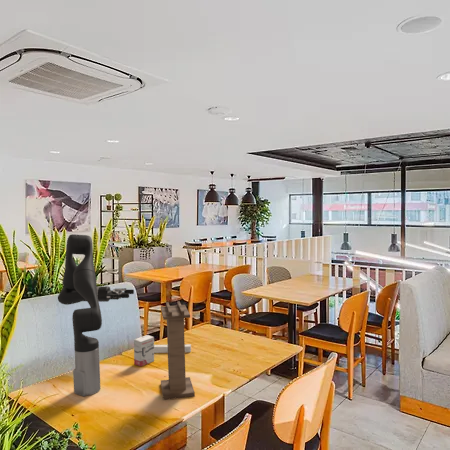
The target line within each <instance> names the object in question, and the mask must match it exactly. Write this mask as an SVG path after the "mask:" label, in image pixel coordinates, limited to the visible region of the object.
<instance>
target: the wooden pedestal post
mask: <svg viewBox="0 0 450 450" xmlns="http://www.w3.org/2000/svg"><path fill="white" fill-rule="evenodd" d="M160 310H161V315H162V316H161V317H162V319H163V321H164V320H165V321H166V334H167V335H166V337H167V338H166V339H167V343H166V345H168V353H167V367H168V368H167V369H168V370H167V371H168V372H167V373H168V379H163V380H162V379H161V380H160V387H161V393H162V401H167V400H176V399H183V398H184V399H185V398H191V397H195V393H196V392H195V390H194V387H193V384H192V380H191V376H188V377H187V376H186V352H185V320H184V319H186V318H188V319H189V318H191V314H190V312H189V310H188V308H187V306H186V304H181V302H180V300H179V301H177V303H176V305H170V303H169V301H168V302H167V301H166V302H165V305H164V306H160Z"/></svg>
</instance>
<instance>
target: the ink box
mask: <svg viewBox="0 0 450 450" xmlns="http://www.w3.org/2000/svg"><path fill="white" fill-rule="evenodd" d="M154 345H155V337H154V336H152V335H149V334H146V335H144V336H140V337H136V338H134V340H133V358H134V359H133V361H134V362H133V364H134V365H135V366H139V367H144V366H145V365H148V364H150V363H153V362H154V361H155V353H154Z"/></svg>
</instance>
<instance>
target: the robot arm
mask: <svg viewBox="0 0 450 450" xmlns="http://www.w3.org/2000/svg"><path fill="white" fill-rule="evenodd" d="M93 249H94V248H93V238H92V237H91V236H90V235H88V234H87V235H86V234H75V233H74V234H69V236H68V238H67V240H66V247H65V259H64V273H63V277H62V286H63V287H62V288H61V291H60V292H59V293H58V295H57V301H58V302H59V303H60V304H62V305H66V306H68V305H75V304H77V303H81V302H87V303H88V305H89V307H86V308H78V309H74V311H72V329H73V339H74V341H73V343H74V345H73V346H74V347H73V349H74V367H75V368H73V370H72V375H73V377H72V378H73V393H74V394H76V395H78V396H81V397H87V396H91V395H93V394H96V393H99V392H100V390H101V370H100V369H101V368H100V367H101V366H100V342H99V340H98V339H97V338H95V337H92V336H87V335H85V334H83V333H88V332H89V333H90V332H95V331H99V330H101V328H102V324H103V319H102V314H101V313H102V311H101V307H100V302H102V303H103V302H104V303H105V302H109V301H110V300H121V299H129V298H130V295H134V293H135V290H134V289H127V288H114V289H112V290H111V287H110V286H97V277H96V272H95V264H94V250H93ZM74 255H83V256H84V257H83V259H82V260H81V261H80V263H79V264H78V265H77V264H76V262H75V260H74Z"/></svg>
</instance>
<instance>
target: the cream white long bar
mask: <svg viewBox="0 0 450 450" xmlns="http://www.w3.org/2000/svg"><path fill="white" fill-rule="evenodd" d="M191 352H192V344H191V343H189V344H185V353H191ZM155 353H156V354H157V353H158V354H160V353H161V354H162V353H163V354H164V353H167V354H168V344H154V354H155Z"/></svg>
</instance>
